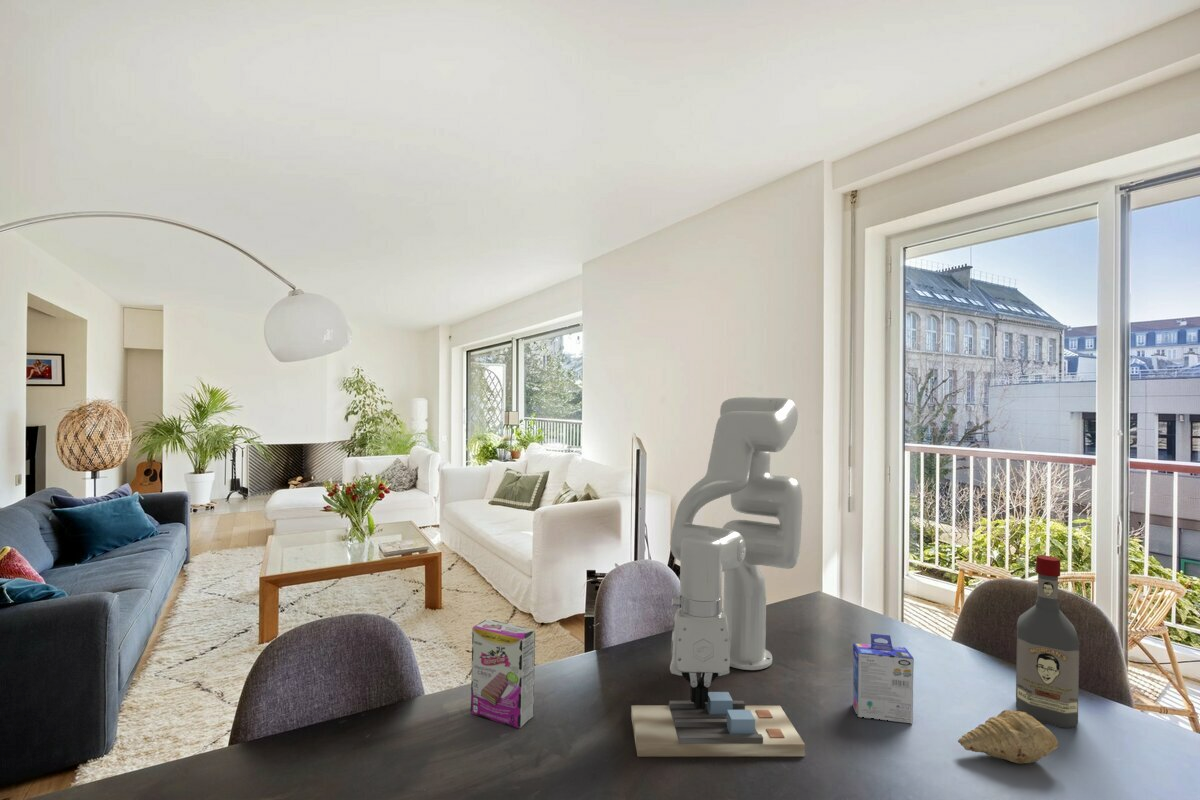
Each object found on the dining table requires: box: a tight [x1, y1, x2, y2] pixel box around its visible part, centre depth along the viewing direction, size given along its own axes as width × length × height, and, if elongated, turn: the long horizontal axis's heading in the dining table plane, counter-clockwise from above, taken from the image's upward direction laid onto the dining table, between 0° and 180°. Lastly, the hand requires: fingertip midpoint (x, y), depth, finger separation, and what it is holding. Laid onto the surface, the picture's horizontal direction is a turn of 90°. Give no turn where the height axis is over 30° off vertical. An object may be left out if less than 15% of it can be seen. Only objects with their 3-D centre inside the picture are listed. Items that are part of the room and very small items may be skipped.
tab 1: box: [707, 691, 734, 714], centre depth 103 cm, size 3×4×3 cm
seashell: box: [957, 709, 1059, 764], centre depth 95 cm, size 14×8×8 cm, turn 93°
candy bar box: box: [470, 618, 536, 729], centre depth 105 cm, size 11×5×16 cm, turn 65°
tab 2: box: [727, 710, 755, 734], centre depth 97 cm, size 3×4×3 cm
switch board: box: [630, 700, 806, 757], centre depth 100 cm, size 12×28×3 cm, turn 92°
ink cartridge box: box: [852, 633, 915, 724], centre depth 108 cm, size 10×6×14 cm, turn 78°
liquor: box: [1015, 554, 1080, 729], centre depth 109 cm, size 9×9×30 cm
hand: (698, 705), depth 103 cm, fingers closed
